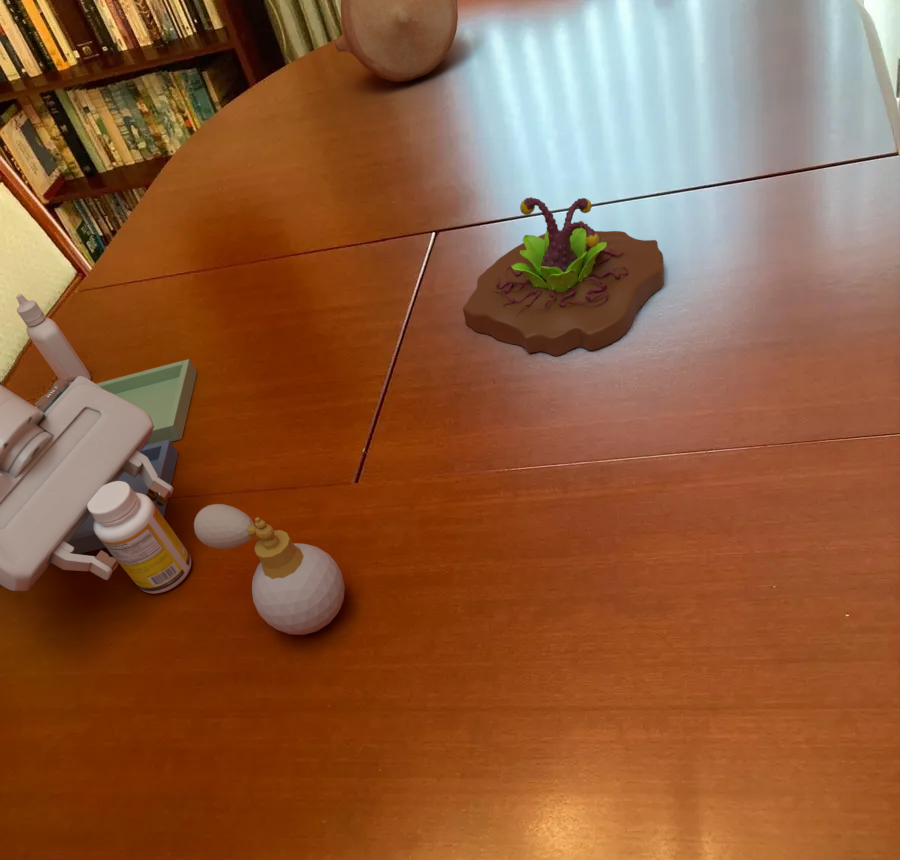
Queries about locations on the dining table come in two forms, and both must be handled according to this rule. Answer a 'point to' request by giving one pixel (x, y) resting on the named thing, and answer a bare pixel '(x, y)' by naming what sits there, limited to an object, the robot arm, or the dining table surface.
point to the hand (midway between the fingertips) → (142, 533)
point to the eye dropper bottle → (50, 341)
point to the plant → (565, 286)
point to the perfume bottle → (279, 570)
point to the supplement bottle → (139, 537)
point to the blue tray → (163, 464)
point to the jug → (398, 35)
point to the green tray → (159, 396)
